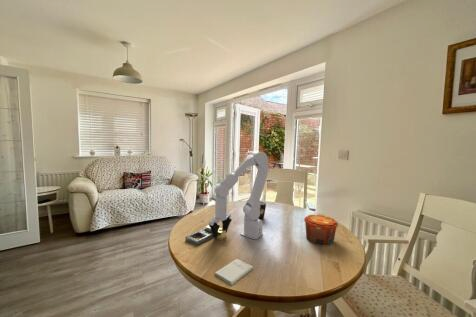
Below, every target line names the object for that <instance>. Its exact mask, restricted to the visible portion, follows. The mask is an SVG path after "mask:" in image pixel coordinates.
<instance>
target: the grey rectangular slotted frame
mask: <svg viewBox="0 0 476 317" xmlns="http://www.w3.org/2000/svg"><path fill="white" fill-rule="evenodd" d="M197 237H200V238H199V239H197ZM213 238H214V237H213V234H212V233H209V232H206V231H205V227H204V228H202V229H200V230H197V231H196V232H193V233H190V234H189V235H186V236H185V241H186V242H188V243H190V244H192V245H195V246H200V245H201V244H204V243H205V242H208V241H209V240H211V239H213Z"/></svg>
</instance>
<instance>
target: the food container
mask: <svg viewBox="0 0 476 317" xmlns="http://www.w3.org/2000/svg"><path fill="white" fill-rule="evenodd" d="M303 220H304V223H305V225H304V226H305V238H306V240H308V241H309V242H310V243H312V244H315V245H317V244H319V245H318V246H323V245H328V246H331V245H332V244H334V243H335V242H334V240H335V235H336V230H337V228H338V226H339V223H338V222H337V220H335V218H333V217H330V216H325V215H322V214H309V215H307V216H305V217H304V219H303Z"/></svg>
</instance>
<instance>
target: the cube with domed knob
mask: <svg viewBox="0 0 476 317" xmlns="http://www.w3.org/2000/svg"><path fill="white" fill-rule="evenodd" d="M204 228H205V231H206V232H209V233H212V230H211V228H210V226H209V224H208V225H206V226H205V227H204Z"/></svg>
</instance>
